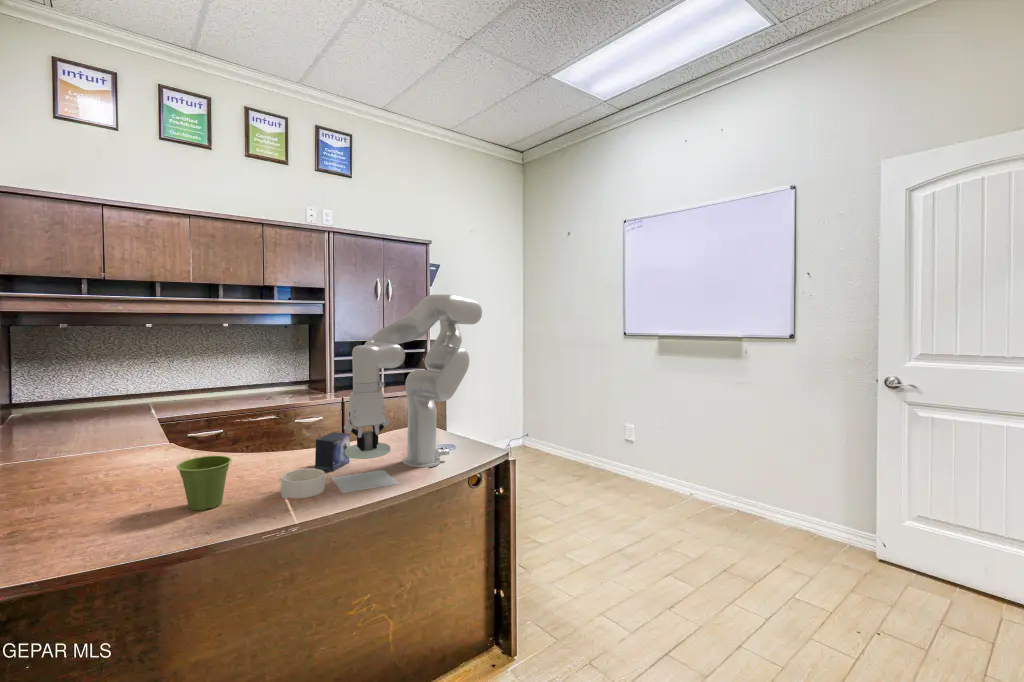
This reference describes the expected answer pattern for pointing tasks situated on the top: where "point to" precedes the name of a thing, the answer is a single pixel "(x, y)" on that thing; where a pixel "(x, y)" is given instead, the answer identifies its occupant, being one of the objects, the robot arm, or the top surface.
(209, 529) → the top surface
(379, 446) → the lid
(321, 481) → the bowl
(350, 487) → the mat
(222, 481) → the plant pot
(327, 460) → the small box
